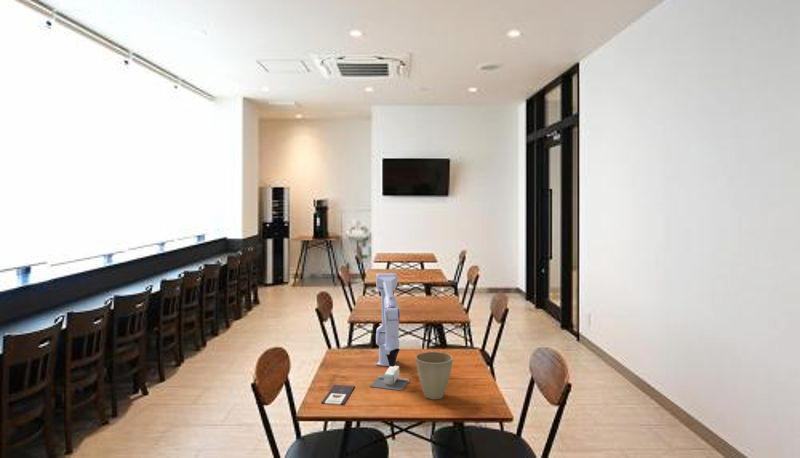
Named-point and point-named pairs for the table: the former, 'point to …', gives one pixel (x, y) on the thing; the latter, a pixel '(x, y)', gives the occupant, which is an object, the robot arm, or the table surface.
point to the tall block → (391, 375)
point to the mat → (397, 385)
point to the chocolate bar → (338, 395)
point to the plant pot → (434, 373)
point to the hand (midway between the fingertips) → (392, 365)
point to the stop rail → (396, 379)
